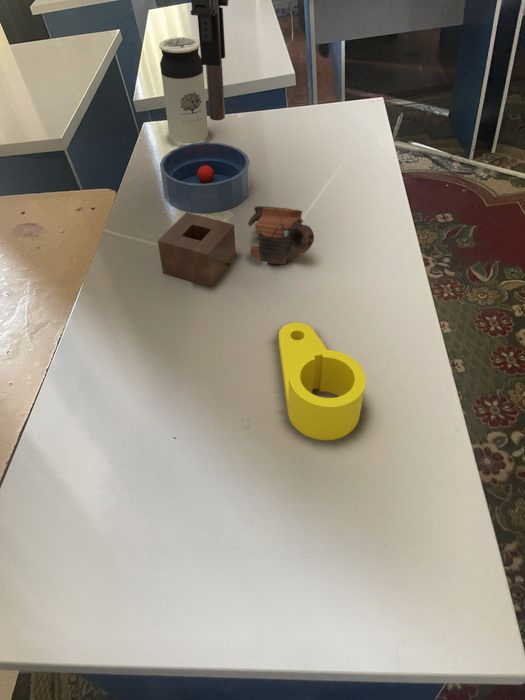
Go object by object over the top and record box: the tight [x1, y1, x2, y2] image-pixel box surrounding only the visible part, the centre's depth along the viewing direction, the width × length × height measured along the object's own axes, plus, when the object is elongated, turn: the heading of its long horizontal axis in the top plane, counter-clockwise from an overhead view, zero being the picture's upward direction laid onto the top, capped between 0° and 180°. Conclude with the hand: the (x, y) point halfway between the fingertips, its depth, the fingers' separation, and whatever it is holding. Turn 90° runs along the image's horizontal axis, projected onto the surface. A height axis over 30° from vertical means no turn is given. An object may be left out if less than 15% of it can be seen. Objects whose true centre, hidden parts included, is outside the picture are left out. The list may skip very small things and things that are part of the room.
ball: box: [197, 165, 214, 183], centre depth 102 cm, size 3×3×3 cm
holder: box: [157, 211, 237, 289], centre depth 85 cm, size 8×8×6 cm
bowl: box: [159, 141, 251, 214], centre depth 99 cm, size 15×15×6 cm
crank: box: [278, 322, 367, 441], centre depth 68 cm, size 18×8×6 cm, turn 14°
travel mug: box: [158, 36, 209, 145], centre depth 111 cm, size 8×8×18 cm
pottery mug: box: [247, 205, 315, 265], centre depth 88 cm, size 12×10×8 cm
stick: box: [205, 0, 226, 121], centre depth 83 cm, size 2×2×18 cm
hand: (213, 60), depth 84 cm, fingers closed on stick, 2 cm apart
